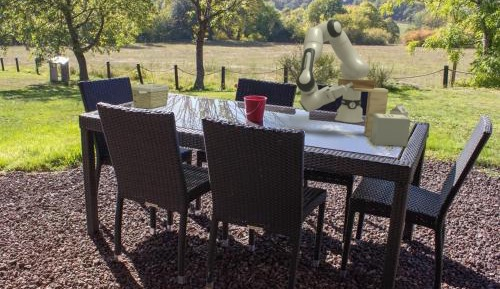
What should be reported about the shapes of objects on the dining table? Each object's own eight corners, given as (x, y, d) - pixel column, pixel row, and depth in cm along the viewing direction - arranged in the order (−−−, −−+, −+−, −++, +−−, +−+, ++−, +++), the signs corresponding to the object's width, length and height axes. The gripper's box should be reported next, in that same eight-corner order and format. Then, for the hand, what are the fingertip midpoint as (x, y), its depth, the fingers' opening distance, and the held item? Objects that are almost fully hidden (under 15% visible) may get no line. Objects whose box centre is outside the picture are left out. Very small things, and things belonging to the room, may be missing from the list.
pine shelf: (348, 132, 265) (352, 86, 259) (379, 133, 264) (384, 88, 258) (350, 135, 256) (354, 88, 250) (383, 137, 256) (388, 90, 249)
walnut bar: (337, 86, 257) (338, 78, 256) (372, 88, 256) (373, 80, 255) (338, 87, 253) (339, 79, 252) (373, 89, 252) (374, 80, 251)
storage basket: (150, 103, 337) (150, 82, 334) (170, 105, 332) (170, 84, 328) (131, 107, 315) (130, 86, 312) (151, 110, 310) (151, 88, 306)
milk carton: (386, 137, 256) (390, 103, 251) (393, 135, 261) (397, 102, 256) (398, 140, 251) (402, 105, 246) (405, 138, 256) (409, 104, 251)
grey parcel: (370, 139, 250) (373, 113, 246) (401, 141, 249) (404, 115, 245) (375, 144, 238) (378, 118, 235) (407, 146, 237) (410, 119, 234)
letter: (375, 114, 246) (375, 113, 246) (402, 115, 245) (402, 114, 245) (380, 117, 235) (380, 117, 235) (408, 119, 234) (408, 118, 234)
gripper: (329, 96, 267) (351, 85, 265) (333, 102, 247) (357, 90, 245) (324, 86, 266) (346, 75, 263) (328, 91, 246) (352, 79, 244)
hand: (351, 82), depth 254 cm, fingers closed on walnut bar, 4 cm apart
